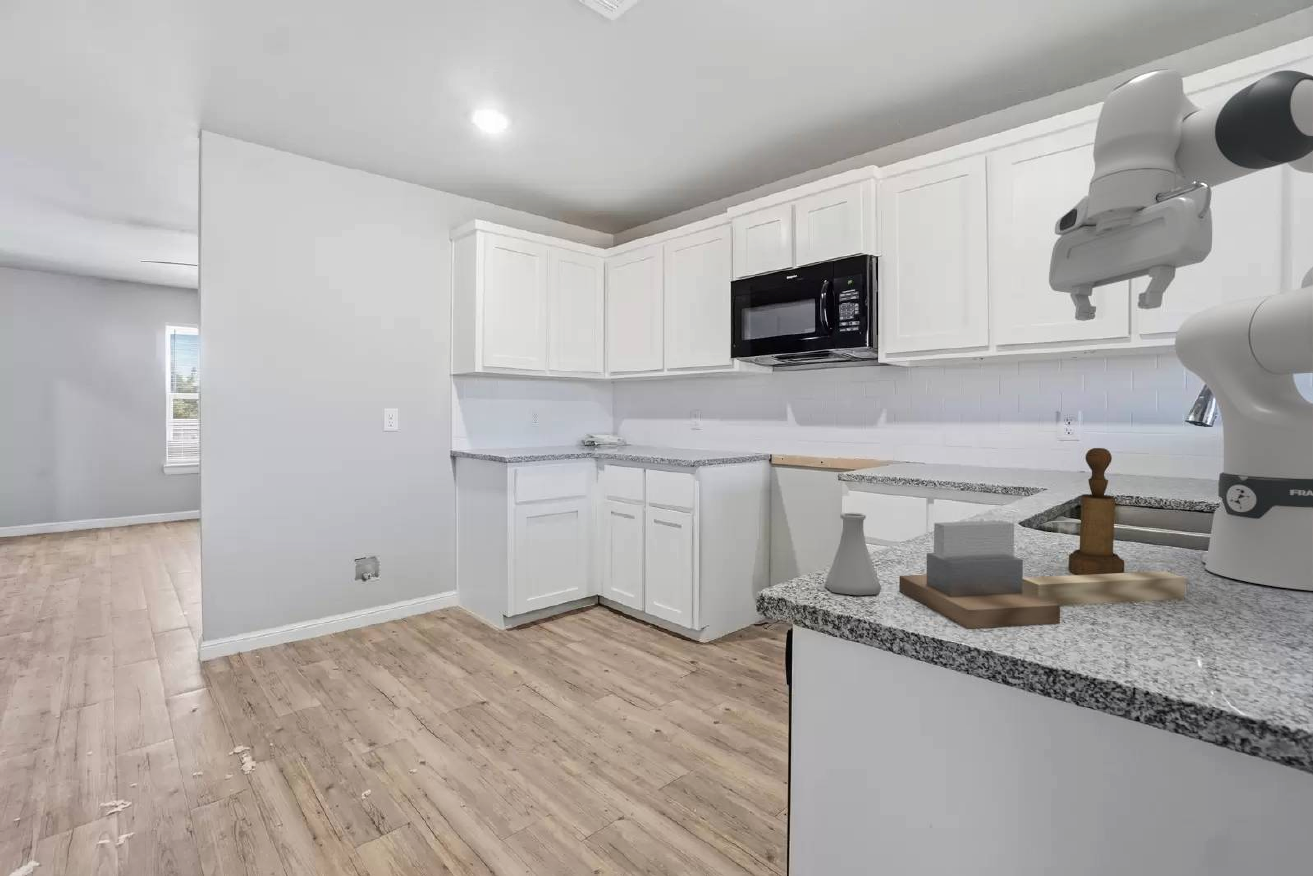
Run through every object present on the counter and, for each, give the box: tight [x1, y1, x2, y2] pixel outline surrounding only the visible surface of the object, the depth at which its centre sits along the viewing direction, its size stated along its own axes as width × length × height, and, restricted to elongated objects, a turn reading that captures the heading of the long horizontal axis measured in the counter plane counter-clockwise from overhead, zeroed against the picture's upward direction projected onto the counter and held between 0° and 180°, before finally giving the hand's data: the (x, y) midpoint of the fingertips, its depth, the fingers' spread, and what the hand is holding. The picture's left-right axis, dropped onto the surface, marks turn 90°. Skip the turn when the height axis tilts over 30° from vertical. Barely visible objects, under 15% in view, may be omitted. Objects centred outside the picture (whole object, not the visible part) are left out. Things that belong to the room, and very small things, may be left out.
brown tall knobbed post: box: [1067, 447, 1125, 575], centre depth 87 cm, size 7×6×18 cm
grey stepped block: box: [926, 520, 1024, 597], centre depth 73 cm, size 9×5×8 cm, turn 98°
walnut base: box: [898, 574, 1061, 629], centre depth 74 cm, size 11×14×2 cm
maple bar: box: [1022, 570, 1187, 606], centre depth 76 cm, size 20×3×3 cm, turn 97°
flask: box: [824, 512, 882, 596], centre depth 81 cm, size 7×7×10 cm
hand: (1114, 314), depth 79 cm, fingers open, 8 cm apart
